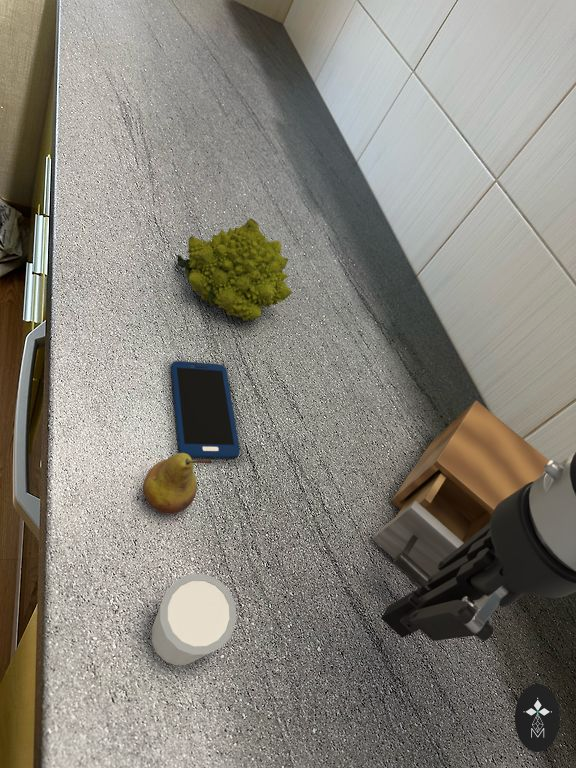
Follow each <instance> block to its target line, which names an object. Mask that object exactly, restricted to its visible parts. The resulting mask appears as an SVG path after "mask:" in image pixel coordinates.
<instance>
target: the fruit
mask: <svg viewBox="0 0 576 768" xmlns="http://www.w3.org/2000/svg"><path fill="white" fill-rule="evenodd" d="M198 463H199V464H213V461H212V460H211V458H208V459H193V458H191V457H190V456H189V455H188V454H186V453H179V452H178V453H175V454H172V455H171V456H170V457H168V458H165V459H162V460H160V461H159V462H156V463H155V464H154V465H153V466H152V467H151V468H150V469H149V471H148V472H147V474H146V475H145V478H144V479H143V480H144V481H143V483H142V494H143V496H144V500H145V501H146V503H147V504H148V505H149V506H150V508H152V509H153V510H154V511H157V512H158V513H161V514H165V515H173V514H178V513H180V512H182V511H185V510H186V509H187V508H189V506H191V504H192V503H193V502H194V500H195V498H196V495H197V491H198V481H197V477H196V475H195V472H194V464H198Z"/></svg>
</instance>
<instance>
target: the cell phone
mask: <svg viewBox="0 0 576 768" xmlns="http://www.w3.org/2000/svg"><path fill="white" fill-rule="evenodd" d="M170 375H171V376H170V377H171V387H172V388H171V389H172V397H173V406H174V407H173V409H174V418H175V426H176V427H175V428H176V437H177V446H178V453H186V454H188V455H189V456H190V457H191V459H236V458H238V457H239V456H240V454H241V453H240V442H239V437H238V430H237V425H236V419H235V413H234V406H233V402H232V394H231V389H230V382H229V377H228V372H227V368H226V366H224V365H222V364H219V363H207V362H194V361H183V360H182V361H181V360H176V361H175V360H174V361H173V362H171V365H170Z"/></svg>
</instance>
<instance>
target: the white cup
mask: <svg viewBox="0 0 576 768" xmlns="http://www.w3.org/2000/svg"><path fill="white" fill-rule="evenodd" d="M236 623H237V605H236V601H235V600H234V598H233V595H232V593H231V591H230V589H229V588H228V587H227V586H226V585H225V584H224V583H223V582H222V581H220V580H219V579H218V578H215V577H213V576H210V575H209V574H206V573H190V574H188V575H187V574H186V575H185V576H183V577H180V578H178V579H176V580H175V581H174V582H173V583H172V584H171V585H170V586H169V588H167V589H166V591H165V593H164V595H163V598H162V601H161V602H160V605H159V608H158V610H157V613H156V616H155V618H154V622H153V624H152V627H151V643H152V646H153V649H154V651H155V653H156V654H157V655H158V656H159V657H160V659H162V660H163V661H164V662H166V663H167V664H168V663H169V664H171V665H174V666H187V665H189V664H191V663H193V662H195V661H197V660H200V659H202V658H203V657H205V656H207V655H209V654H211V653H213V652H216V650H219V649H221V648H222V647H224V645H225V644H226V643H227V641H228V640H229V639H230V638H231V637H232V635H233V633H234V629H235V627H236Z"/></svg>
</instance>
